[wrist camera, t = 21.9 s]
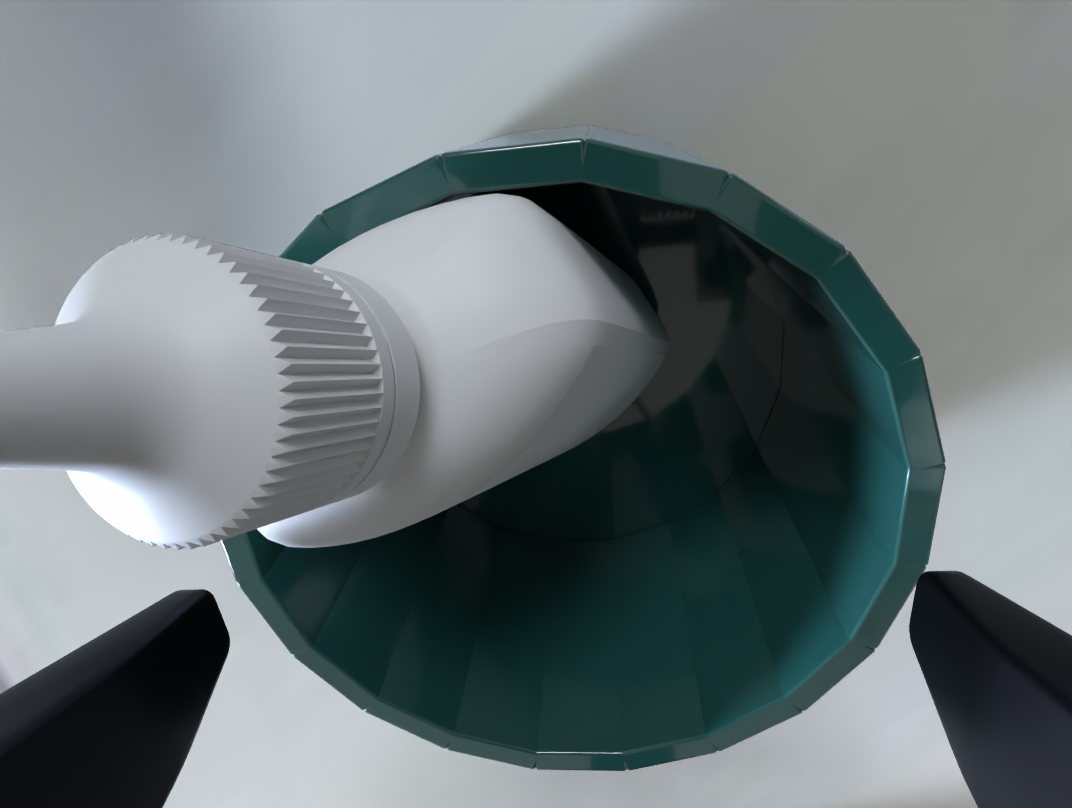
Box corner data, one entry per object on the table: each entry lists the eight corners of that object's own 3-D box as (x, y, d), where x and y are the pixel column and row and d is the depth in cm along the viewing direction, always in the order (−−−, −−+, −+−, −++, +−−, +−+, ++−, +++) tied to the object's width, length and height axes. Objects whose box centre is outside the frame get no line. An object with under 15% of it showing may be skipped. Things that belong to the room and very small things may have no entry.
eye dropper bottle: (680, 465, 14) (422, 882, 3) (450, 470, 16) (-299, 739, 4) (667, 267, 14) (338, -180, 3) (437, 294, 16) (-375, 103, 4)
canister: (785, 536, 18) (890, 775, 11) (402, 548, 19) (304, 768, 13) (815, 98, 13) (1017, 89, 7) (310, 155, 14) (87, 191, 8)
